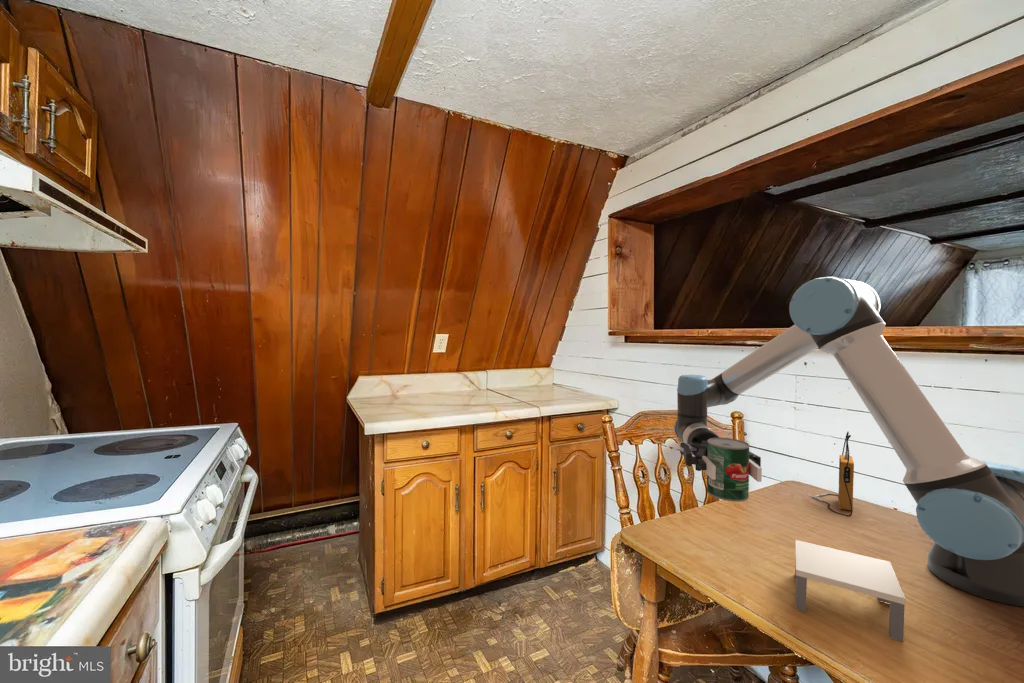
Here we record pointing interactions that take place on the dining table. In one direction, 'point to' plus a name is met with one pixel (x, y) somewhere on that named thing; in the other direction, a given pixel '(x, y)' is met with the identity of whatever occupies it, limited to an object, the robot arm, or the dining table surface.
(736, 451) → the canned tomato
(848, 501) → the multimeter
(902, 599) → the shelf
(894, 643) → the dining table surface
